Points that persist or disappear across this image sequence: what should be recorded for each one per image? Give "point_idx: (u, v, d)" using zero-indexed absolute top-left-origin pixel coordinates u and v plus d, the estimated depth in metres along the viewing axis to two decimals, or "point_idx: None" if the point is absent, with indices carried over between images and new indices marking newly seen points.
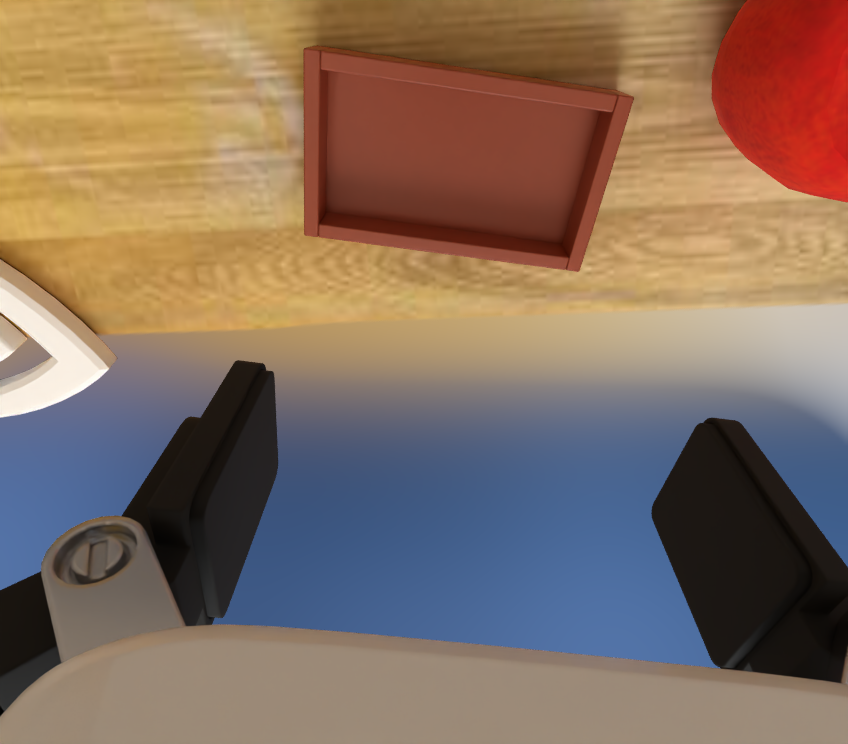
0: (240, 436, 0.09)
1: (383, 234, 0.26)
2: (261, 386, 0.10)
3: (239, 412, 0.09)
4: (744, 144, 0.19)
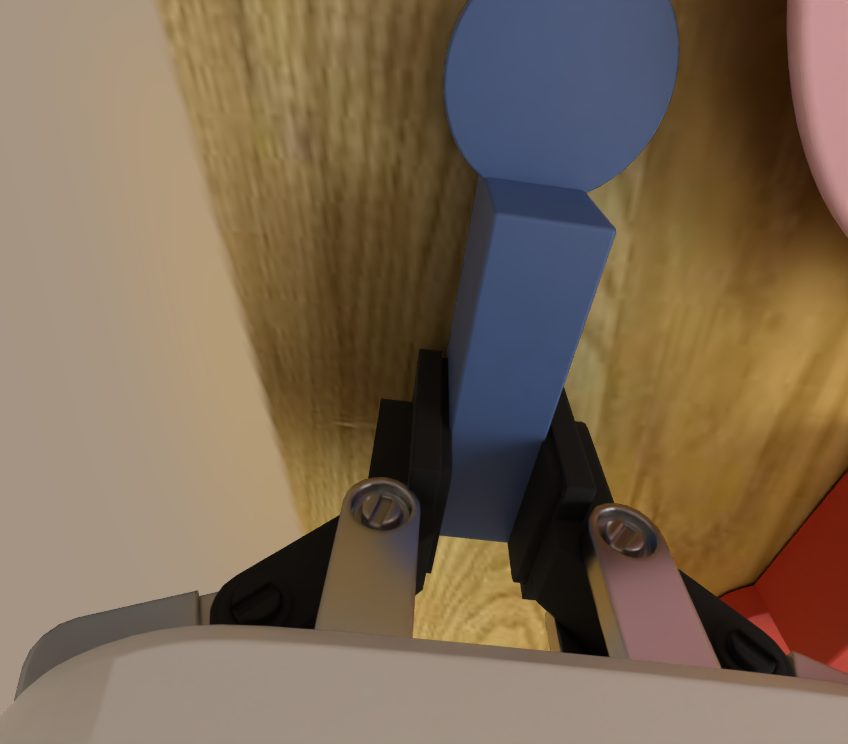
0: None
1: None
2: None
3: (441, 392, 0.10)
4: None
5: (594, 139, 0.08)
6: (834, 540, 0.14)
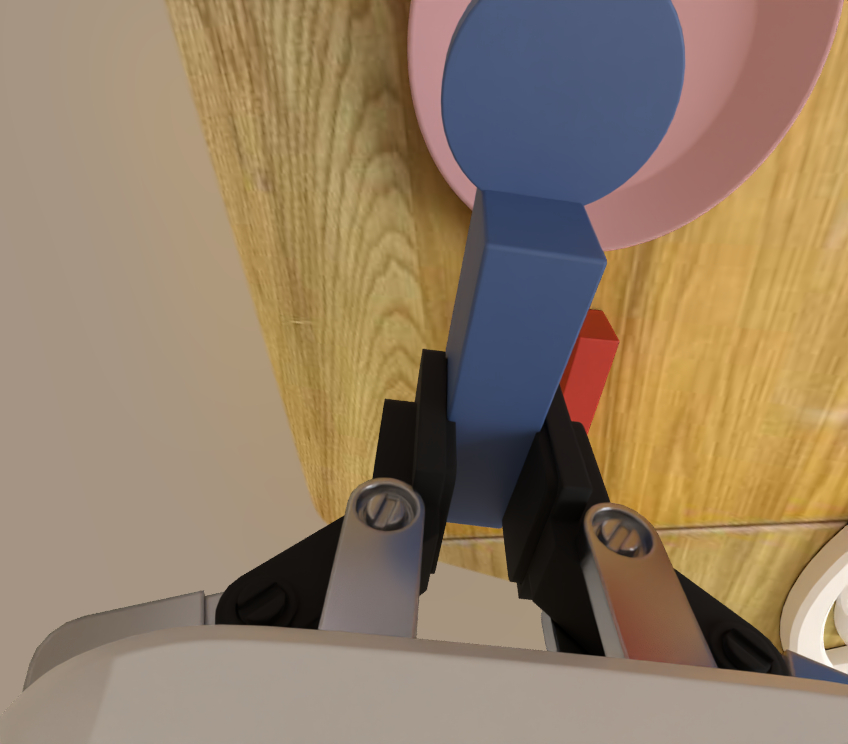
0: None
1: None
2: None
3: (445, 392, 0.10)
4: None
5: (594, 155, 0.08)
6: None
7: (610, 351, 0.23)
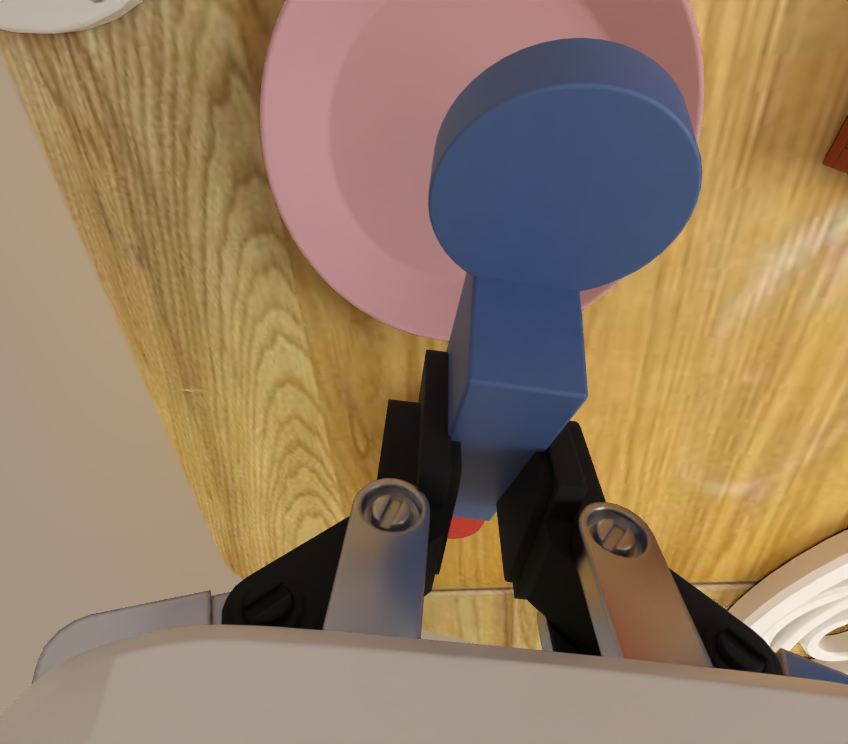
0: None
1: None
2: None
3: None
4: None
5: (593, 255, 0.08)
6: None
7: None
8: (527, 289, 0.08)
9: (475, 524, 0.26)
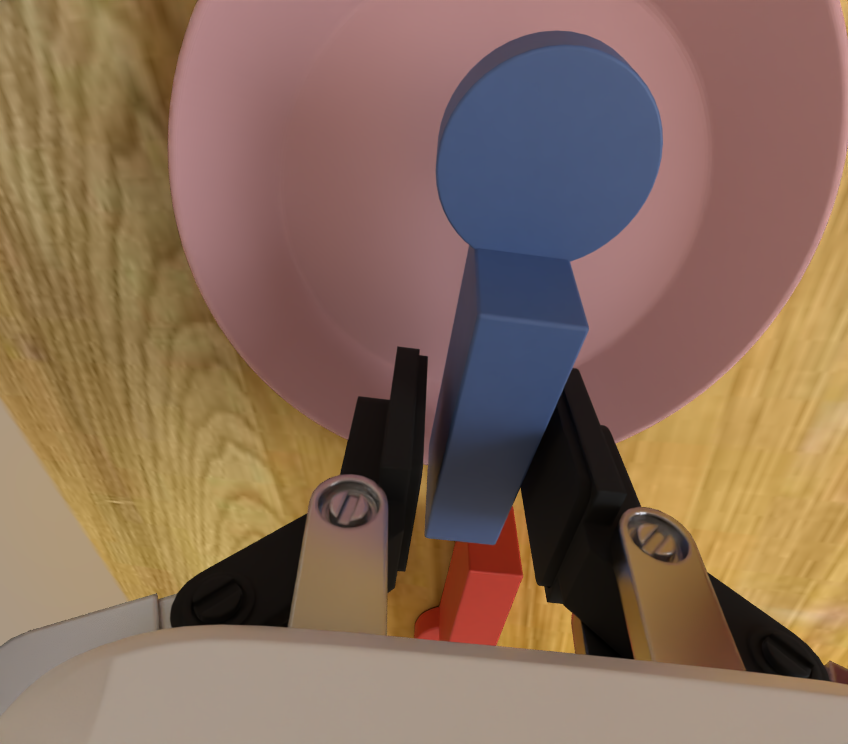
0: (425, 410, 0.10)
1: None
2: (425, 368, 0.11)
3: (416, 389, 0.10)
4: None
5: (578, 219, 0.09)
6: (451, 579, 0.20)
7: (511, 585, 0.17)
8: (523, 257, 0.09)
9: None
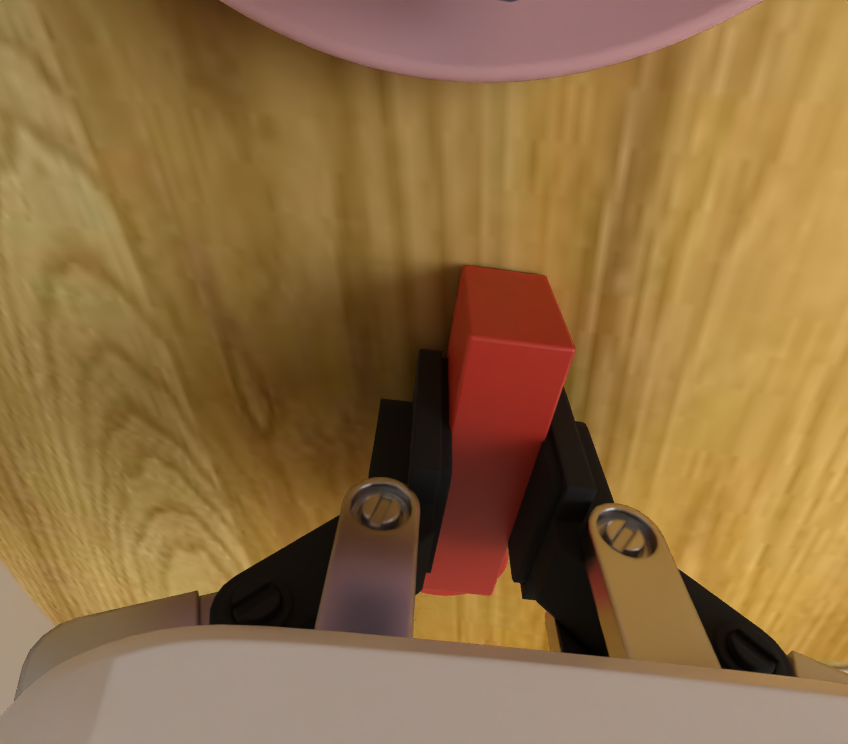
0: None
1: None
2: None
3: (441, 392, 0.10)
4: None
5: None
6: None
7: (552, 374, 0.09)
8: None
9: (492, 581, 0.12)
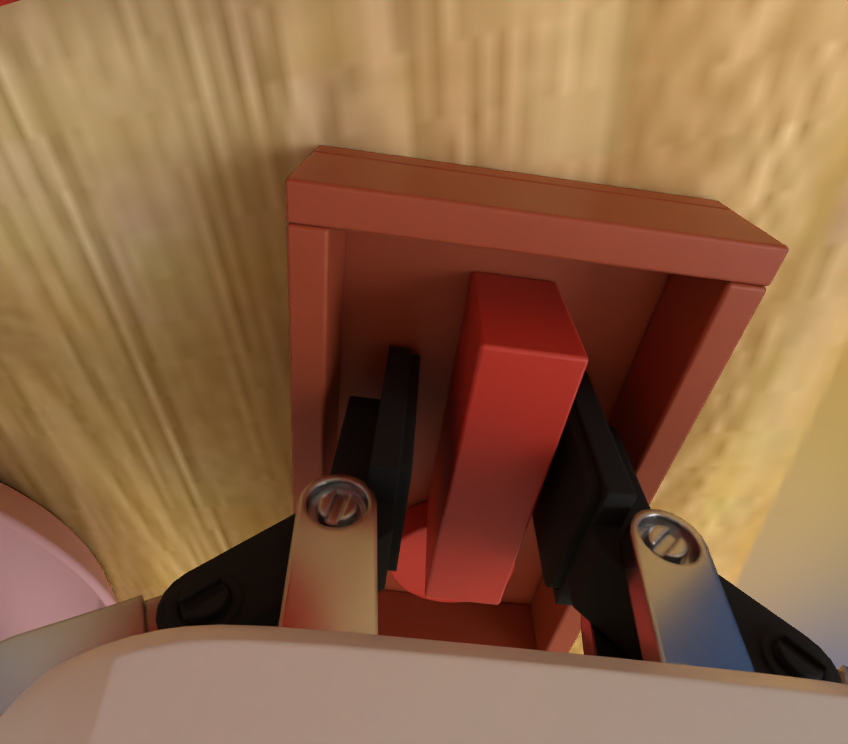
0: (416, 410, 0.10)
1: None
2: (418, 368, 0.11)
3: (407, 389, 0.10)
4: None
5: None
6: (446, 429, 0.12)
7: (565, 384, 0.09)
8: None
9: (500, 591, 0.12)
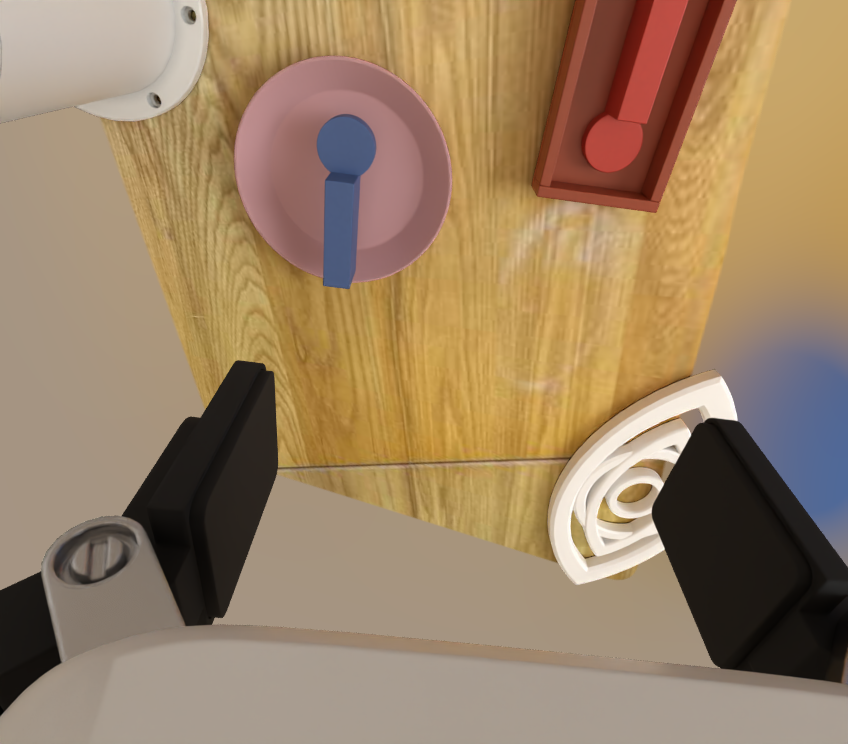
0: (240, 436, 0.09)
1: (671, 148, 0.32)
2: (261, 386, 0.10)
3: (239, 411, 0.09)
4: None
5: (357, 162, 0.32)
6: (627, 47, 0.30)
7: None
8: (344, 173, 0.33)
9: (648, 112, 0.30)
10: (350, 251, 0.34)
